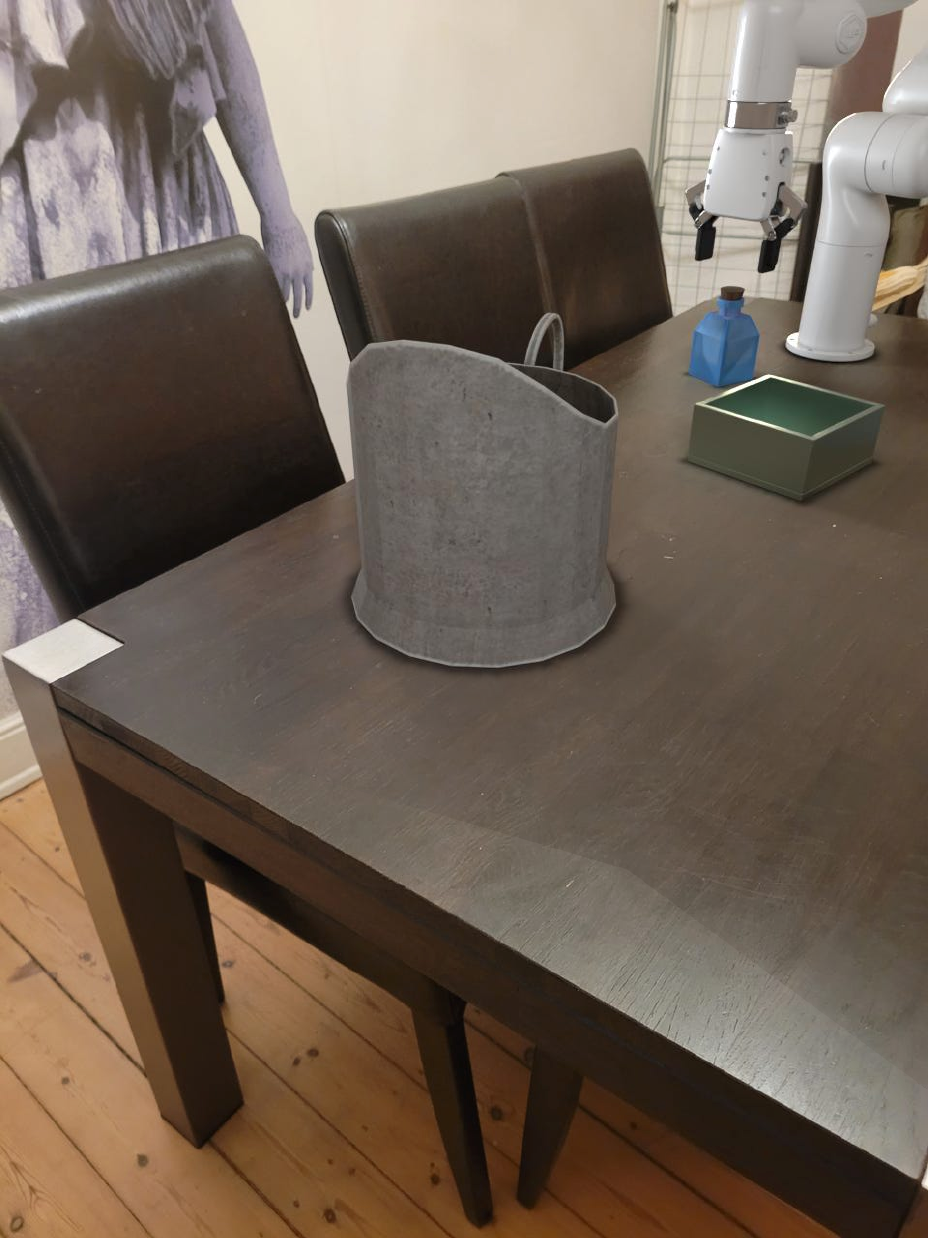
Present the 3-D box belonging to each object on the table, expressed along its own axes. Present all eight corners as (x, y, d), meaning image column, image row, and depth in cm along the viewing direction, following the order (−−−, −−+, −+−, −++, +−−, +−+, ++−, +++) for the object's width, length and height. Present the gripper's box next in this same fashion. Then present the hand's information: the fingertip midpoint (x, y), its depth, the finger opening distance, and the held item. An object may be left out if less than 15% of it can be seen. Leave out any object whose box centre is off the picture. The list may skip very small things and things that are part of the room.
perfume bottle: (717, 386, 127) (730, 296, 120) (688, 374, 131) (699, 286, 125) (752, 379, 129) (766, 290, 122) (722, 367, 134) (735, 281, 127)
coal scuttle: (303, 632, 77) (264, 330, 64) (452, 482, 102) (447, 241, 88) (570, 694, 70) (591, 367, 56) (661, 517, 94) (691, 259, 80)
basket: (759, 428, 114) (768, 373, 110) (871, 462, 105) (885, 405, 101) (687, 460, 106) (694, 403, 102) (801, 501, 97) (813, 440, 93)
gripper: (837, 120, 109) (808, 272, 118) (715, 112, 120) (696, 251, 129) (803, 124, 105) (775, 281, 114) (679, 115, 116) (663, 259, 125)
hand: (733, 265), depth 122 cm, fingers open, 9 cm apart
